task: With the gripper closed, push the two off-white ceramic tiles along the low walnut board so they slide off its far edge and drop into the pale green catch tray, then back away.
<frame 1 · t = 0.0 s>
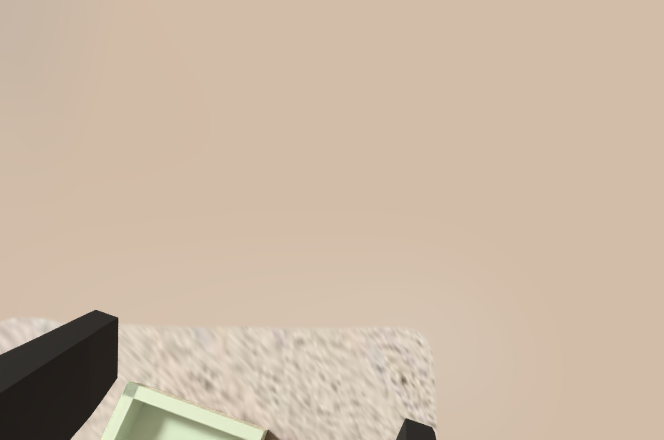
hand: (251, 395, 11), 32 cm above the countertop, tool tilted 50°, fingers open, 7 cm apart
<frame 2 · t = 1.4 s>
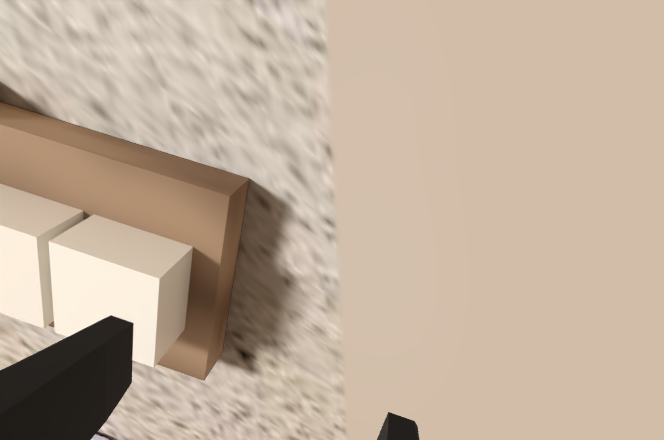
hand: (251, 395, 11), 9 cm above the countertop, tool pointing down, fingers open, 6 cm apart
tile a: (141, 274, 20), point 2 cm above the countertop, touching board
tile b: (39, 239, 20), point 2 cm above the countertop, touching board
board: (118, 236, 22), on the countertop
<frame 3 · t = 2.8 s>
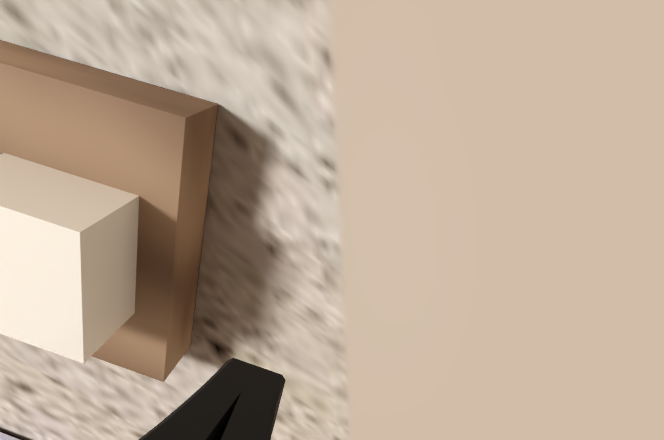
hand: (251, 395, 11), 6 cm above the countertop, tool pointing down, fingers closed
tile a: (73, 237, 15), point 2 cm above the countertop, touching board
board: (50, 192, 17), on the countertop
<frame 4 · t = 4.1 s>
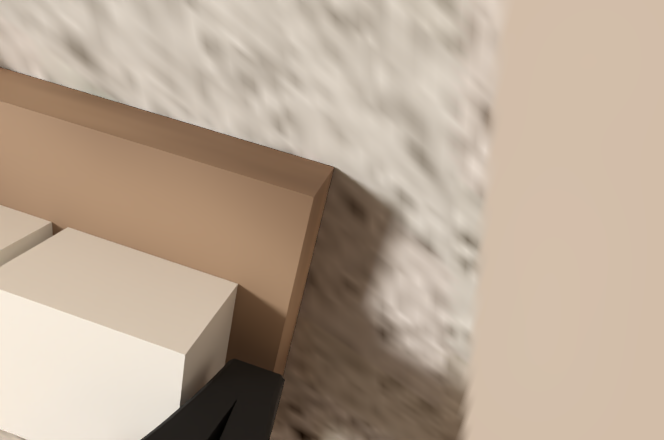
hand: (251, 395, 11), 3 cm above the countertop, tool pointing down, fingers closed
tile a: (147, 325, 12), point 2 cm above the countertop, touching gripper
board: (112, 260, 14), on the countertop
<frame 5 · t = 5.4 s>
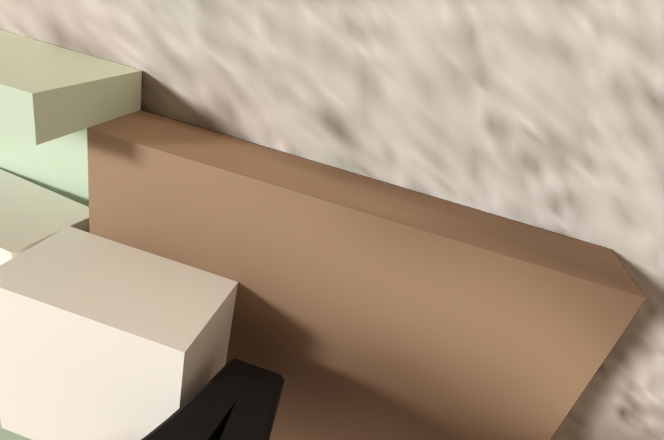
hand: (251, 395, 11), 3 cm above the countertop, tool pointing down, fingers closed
tile a: (148, 324, 12), point 2 cm above the countertop, touching board, gripper, tile b
tile b: (39, 251, 14), point 1 cm above the countertop, tilted 8°, touching tile a
board: (321, 330, 13), on the countertop
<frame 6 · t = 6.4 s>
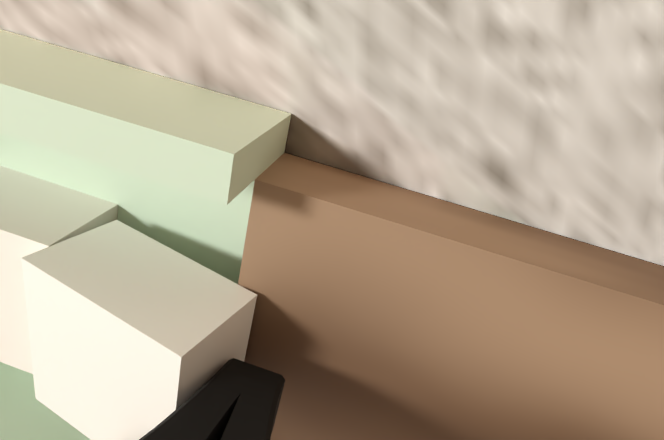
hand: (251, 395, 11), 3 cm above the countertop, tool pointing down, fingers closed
tray: (74, 247, 14), on the countertop
tile a: (176, 323, 12), point 2 cm above the countertop, tilted 14°, touching board, gripper, tile b
tile b: (49, 247, 14), resting on tray, touching tile a
board: (450, 373, 13), on the countertop
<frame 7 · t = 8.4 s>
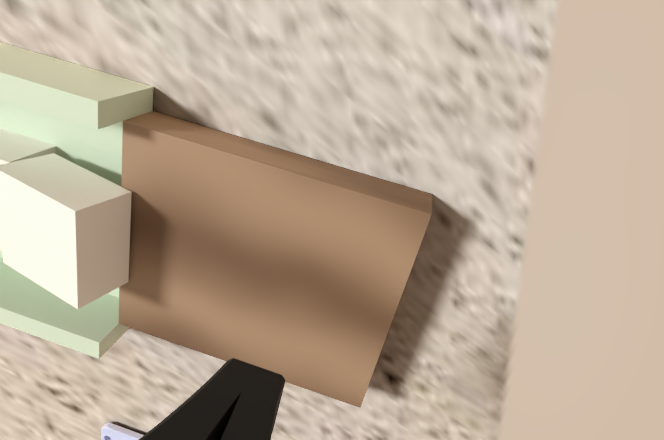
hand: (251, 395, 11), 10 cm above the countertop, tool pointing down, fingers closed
tray: (32, 178, 22), on the countertop
tile a: (91, 218, 20), point 2 cm above the countertop, tilted 14°, touching board, tile b
tile b: (15, 176, 21), resting on tray, touching tile a
board: (268, 254, 21), on the countertop
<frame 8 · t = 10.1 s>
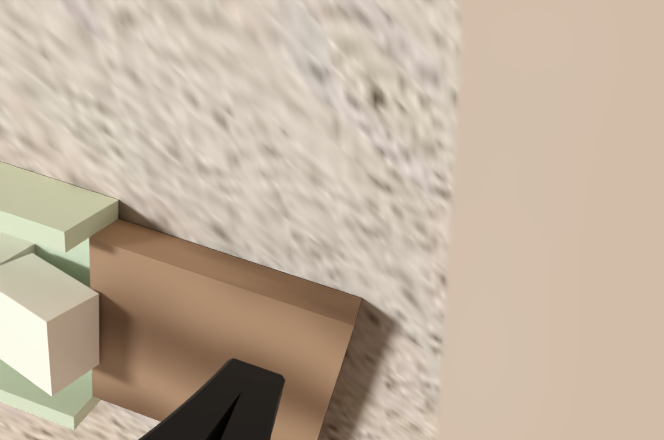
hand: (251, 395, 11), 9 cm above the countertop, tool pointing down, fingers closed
tray: (15, 266, 24), on the countertop
tile a: (66, 309, 23), point 2 cm above the countertop, tilted 14°, touching board, tile b
board: (224, 338, 23), on the countertop
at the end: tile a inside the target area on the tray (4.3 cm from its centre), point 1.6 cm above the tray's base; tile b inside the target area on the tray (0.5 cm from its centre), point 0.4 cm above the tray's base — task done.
